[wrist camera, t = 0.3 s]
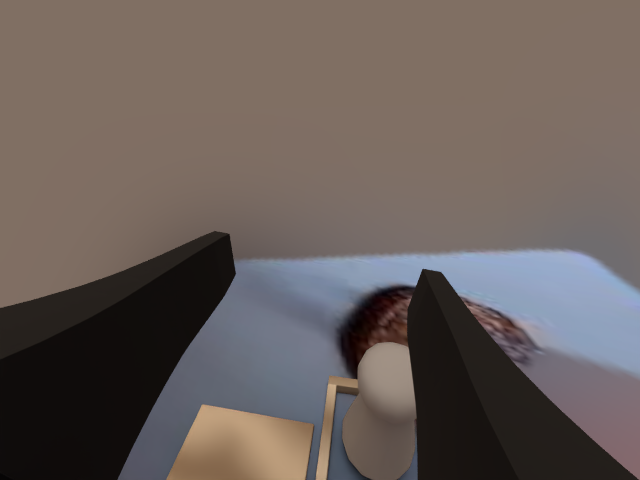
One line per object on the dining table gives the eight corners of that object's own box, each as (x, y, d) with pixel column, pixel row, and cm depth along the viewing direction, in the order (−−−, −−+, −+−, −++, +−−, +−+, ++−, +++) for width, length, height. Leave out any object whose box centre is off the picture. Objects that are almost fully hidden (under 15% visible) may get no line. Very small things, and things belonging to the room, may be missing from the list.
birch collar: (441, 535, 18) (446, 532, 17) (313, 506, 20) (312, 502, 19) (421, 396, 26) (425, 389, 25) (329, 382, 27) (329, 375, 26)
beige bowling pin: (327, 443, 23) (324, 367, 15) (368, 394, 26) (382, 310, 18) (383, 512, 19) (415, 458, 12) (422, 446, 22) (467, 369, 15)
